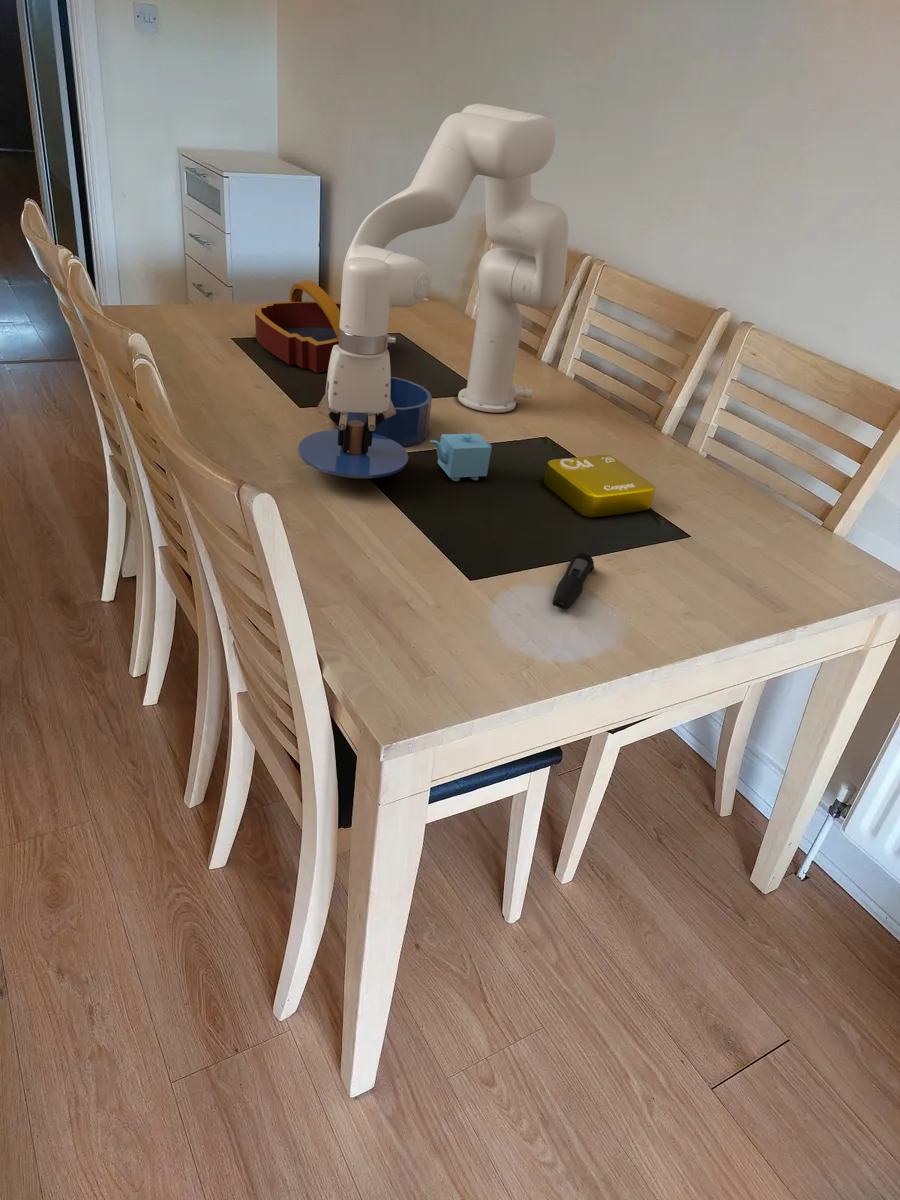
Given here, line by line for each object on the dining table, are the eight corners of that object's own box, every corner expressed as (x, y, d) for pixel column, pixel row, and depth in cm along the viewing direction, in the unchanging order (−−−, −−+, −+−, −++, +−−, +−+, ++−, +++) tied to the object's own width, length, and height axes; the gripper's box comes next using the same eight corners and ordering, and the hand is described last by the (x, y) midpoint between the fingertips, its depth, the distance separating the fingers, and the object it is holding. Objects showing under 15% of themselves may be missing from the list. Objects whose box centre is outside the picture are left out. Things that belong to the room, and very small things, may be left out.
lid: (379, 432, 159) (382, 399, 155) (426, 475, 146) (431, 441, 142) (282, 440, 150) (283, 406, 147) (322, 487, 137) (325, 450, 134)
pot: (402, 408, 179) (405, 373, 175) (443, 443, 167) (448, 406, 163) (322, 414, 171) (324, 377, 167) (359, 451, 158) (362, 412, 154)
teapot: (431, 483, 151) (436, 443, 147) (419, 468, 156) (424, 429, 152) (493, 480, 156) (500, 441, 151) (480, 465, 160) (486, 427, 156)
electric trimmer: (543, 612, 122) (547, 593, 120) (571, 562, 134) (575, 545, 132) (569, 620, 121) (573, 601, 119) (594, 570, 133) (599, 552, 131)
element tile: (585, 520, 147) (592, 494, 144) (539, 481, 158) (543, 457, 155) (654, 510, 154) (661, 486, 151) (605, 474, 164) (610, 450, 162)
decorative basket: (242, 334, 212) (233, 271, 203) (354, 317, 222) (350, 256, 213) (280, 386, 188) (272, 318, 179) (405, 364, 198) (402, 298, 188)
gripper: (407, 337, 142) (396, 441, 152) (307, 331, 138) (303, 439, 148) (417, 352, 136) (405, 460, 146) (313, 346, 132) (308, 458, 142)
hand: (354, 448), depth 147 cm, fingers closed on lid, 2 cm apart
